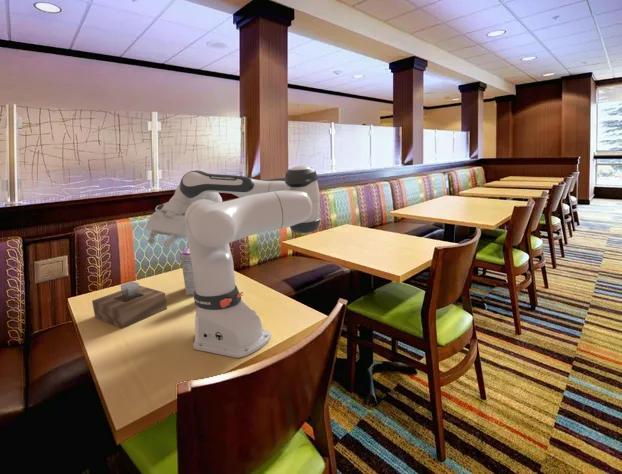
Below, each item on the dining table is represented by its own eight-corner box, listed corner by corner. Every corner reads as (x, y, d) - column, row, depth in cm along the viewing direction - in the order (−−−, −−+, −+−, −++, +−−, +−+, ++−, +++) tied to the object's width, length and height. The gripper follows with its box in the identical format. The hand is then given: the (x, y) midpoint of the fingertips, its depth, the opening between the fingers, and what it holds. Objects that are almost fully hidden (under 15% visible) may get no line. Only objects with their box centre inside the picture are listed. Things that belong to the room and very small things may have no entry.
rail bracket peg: (142, 310, 125) (138, 283, 123) (132, 315, 122) (127, 287, 120) (136, 308, 127) (131, 281, 125) (125, 312, 124) (120, 285, 122)
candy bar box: (194, 284, 148) (189, 245, 144) (206, 284, 147) (202, 245, 144) (185, 295, 137) (179, 253, 133) (198, 295, 137) (193, 253, 133)
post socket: (167, 308, 126) (164, 292, 124) (122, 328, 113) (119, 310, 111) (139, 300, 134) (137, 284, 133) (95, 317, 121) (91, 300, 120)
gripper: (201, 219, 131) (182, 252, 126) (165, 214, 142) (147, 245, 137) (190, 209, 126) (170, 243, 121) (154, 205, 137) (134, 236, 132)
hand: (157, 244), depth 129 cm, fingers open, 8 cm apart
